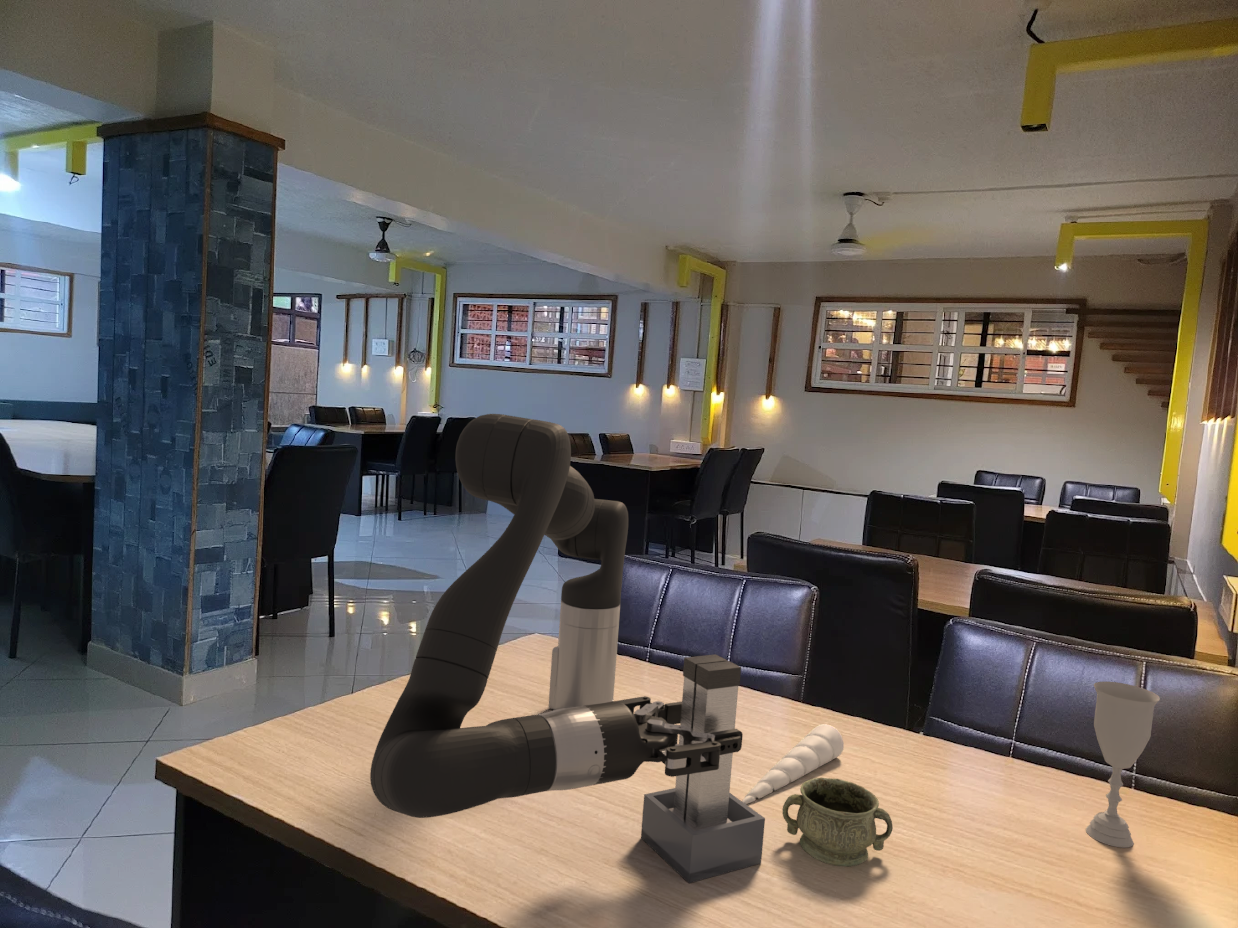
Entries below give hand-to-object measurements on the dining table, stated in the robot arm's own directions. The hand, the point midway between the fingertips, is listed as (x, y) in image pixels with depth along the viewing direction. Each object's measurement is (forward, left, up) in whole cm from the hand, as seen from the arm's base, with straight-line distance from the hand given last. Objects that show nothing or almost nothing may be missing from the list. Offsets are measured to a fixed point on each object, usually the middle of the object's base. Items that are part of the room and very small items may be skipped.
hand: (715, 724), depth 88 cm
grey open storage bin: (0, -1, -14) cm, 14 cm away
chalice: (+39, +33, -14) cm, 53 cm away
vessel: (+12, +9, -14) cm, 21 cm away
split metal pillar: (-1, -1, -13) cm, 13 cm away
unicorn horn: (+2, +24, -15) cm, 29 cm away
